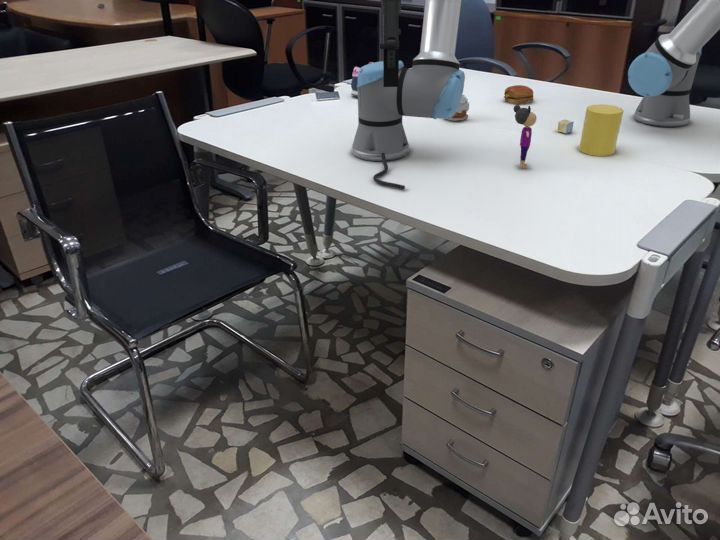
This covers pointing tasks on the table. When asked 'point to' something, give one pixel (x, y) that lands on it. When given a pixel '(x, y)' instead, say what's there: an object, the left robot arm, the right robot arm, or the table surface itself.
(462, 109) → the cream topped cupcake
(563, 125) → the alphabet block
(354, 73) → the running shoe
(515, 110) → the toy
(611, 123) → the canister
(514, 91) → the burger
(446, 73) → the left robot arm
